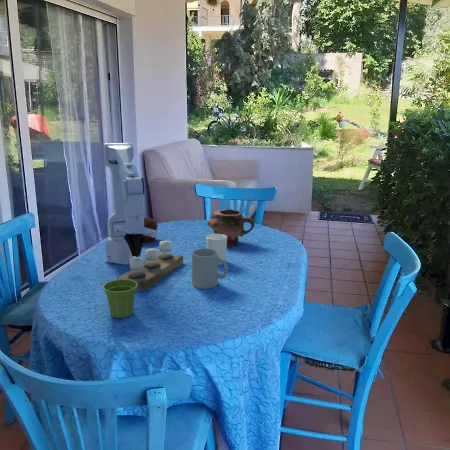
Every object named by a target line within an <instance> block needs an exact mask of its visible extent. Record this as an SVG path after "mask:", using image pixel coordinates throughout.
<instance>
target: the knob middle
mask: <svg viewBox="0 0 450 450" xmlns="http://www.w3.org/2000/svg"><path fill="white" fill-rule="evenodd" d="M158 253H159V249H158V248H154V247H153V248H147V249H145V253H144V255H145V261H146V260H148V261H155V260H158V259H159V255H158Z"/></svg>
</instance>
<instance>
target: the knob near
mask: <svg viewBox="0 0 450 450" xmlns="http://www.w3.org/2000/svg"><path fill="white" fill-rule="evenodd" d="M143 268H144V257H141V256H139V257H135V256H134V258H131V259H130V263H129V269H130V270H134V271H138V270H142V269H143Z"/></svg>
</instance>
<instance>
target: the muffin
mask: <svg viewBox="0 0 450 450" xmlns="http://www.w3.org/2000/svg"><path fill="white" fill-rule="evenodd" d="M158 225H159V224H157V222H156V220H154V219H153V218H152V217H148V216H144V227H145V228H149V229H153V230H157V229H158ZM157 231H158V230H157ZM156 238H157V236H156V237H154V238H153V237H151V236H147V237H146V239H145V241H144V243H143V244H150V243H153V242H155V241H156Z"/></svg>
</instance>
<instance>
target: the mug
mask: <svg viewBox="0 0 450 450" xmlns="http://www.w3.org/2000/svg"><path fill="white" fill-rule="evenodd" d="M218 263H222V264H221V265H223V266H224V272H223V273H219V265H218ZM228 269H229V266H228V261H227V260H224V259H222V258H218V252H217V251H216V250H213V249H207V248H198V249H193V251H192V253H191V284H192V286H193V287H195V288H196V289H202V290H203V289H205V290H209V289H213V288H215V287H216V286H218V284H219V279H225V278H226V277H227V275H228V272H229V270H228Z"/></svg>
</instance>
